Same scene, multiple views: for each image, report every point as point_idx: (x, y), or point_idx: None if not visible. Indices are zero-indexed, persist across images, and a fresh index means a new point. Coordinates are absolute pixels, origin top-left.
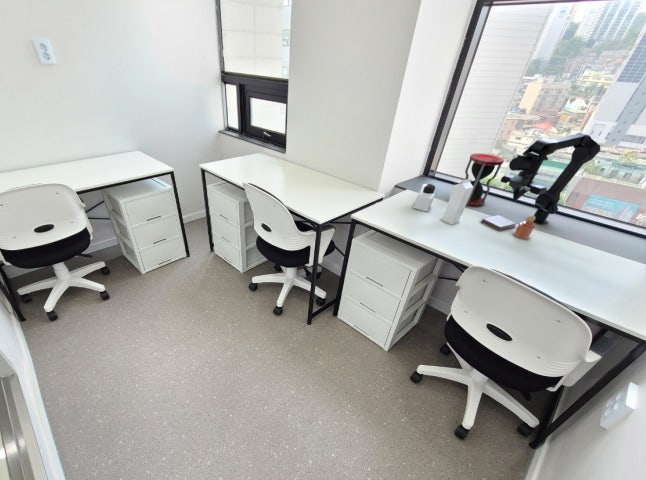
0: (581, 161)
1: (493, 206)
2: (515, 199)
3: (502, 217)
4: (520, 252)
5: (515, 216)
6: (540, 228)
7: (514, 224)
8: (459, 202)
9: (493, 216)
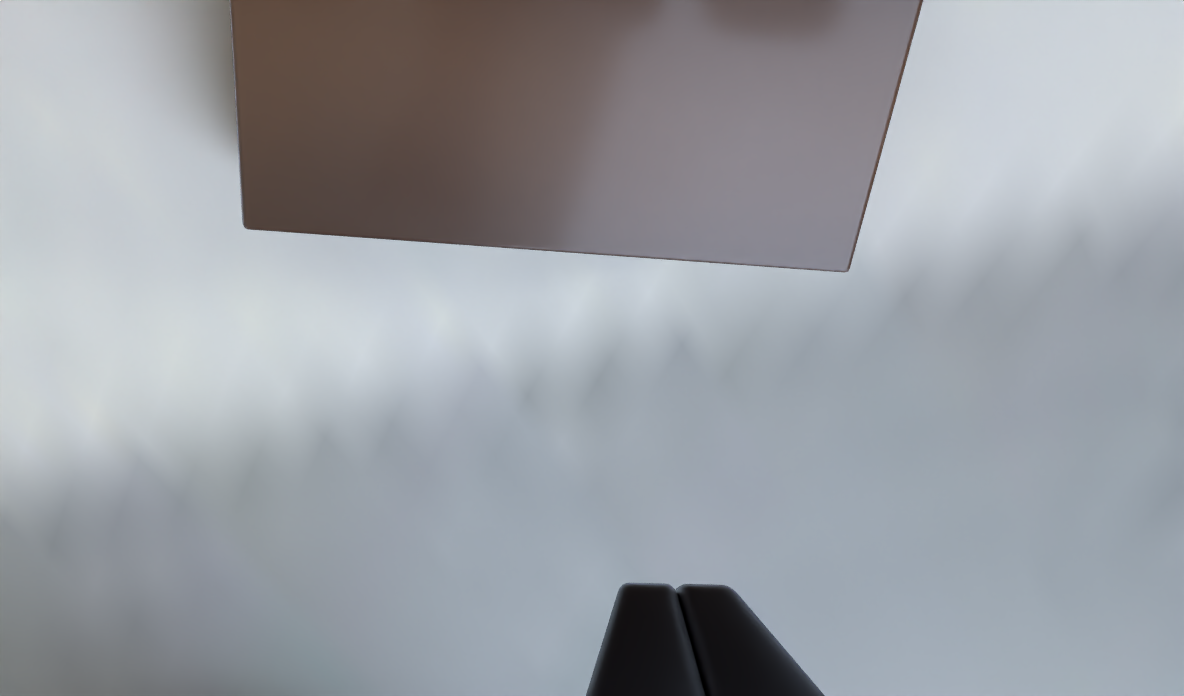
0: None
1: (1145, 692)
2: (616, 690)
3: (696, 219)
4: None
5: None
6: (28, 636)
7: (243, 145)
8: None
9: (901, 16)
